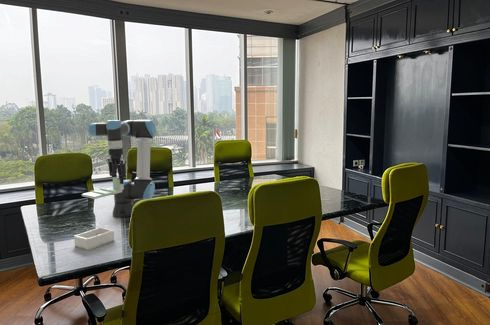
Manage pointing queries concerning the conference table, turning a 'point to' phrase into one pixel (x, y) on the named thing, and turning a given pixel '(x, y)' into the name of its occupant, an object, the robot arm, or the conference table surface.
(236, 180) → the conference table surface
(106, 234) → the tub
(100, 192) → the lid
